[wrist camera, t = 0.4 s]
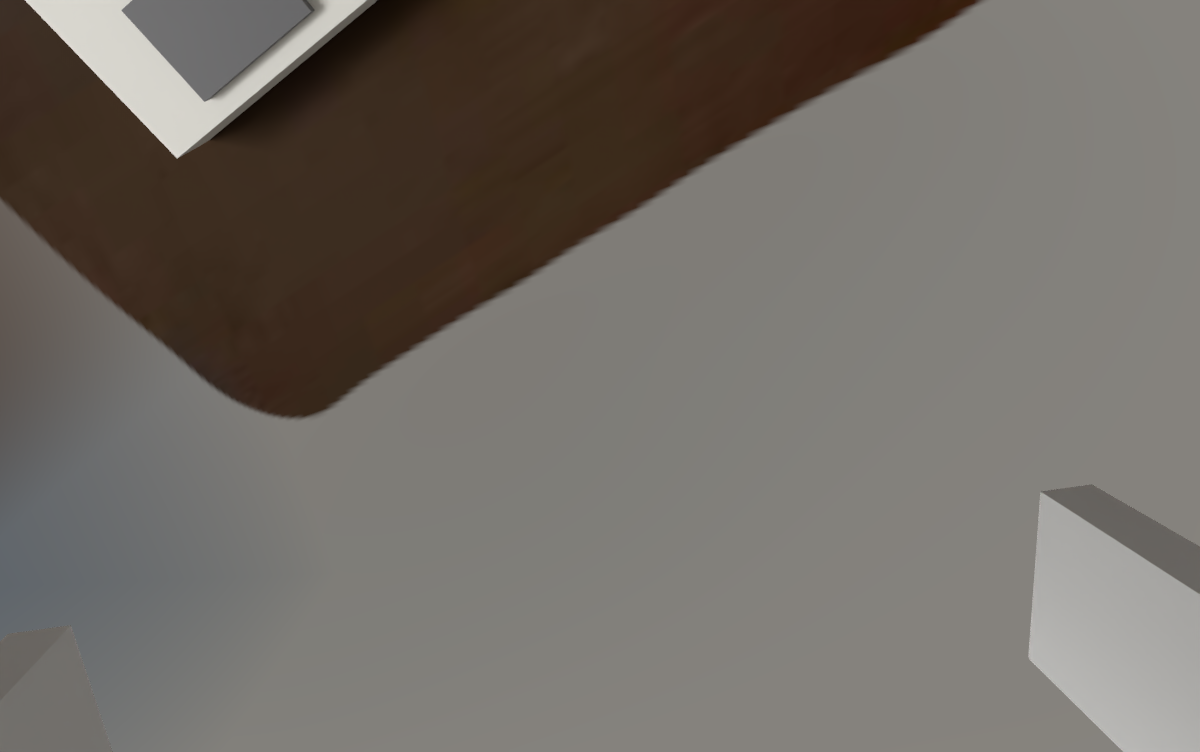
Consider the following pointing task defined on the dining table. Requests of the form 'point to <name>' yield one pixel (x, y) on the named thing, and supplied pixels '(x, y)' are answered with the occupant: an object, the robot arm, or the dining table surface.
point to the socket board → (194, 53)
